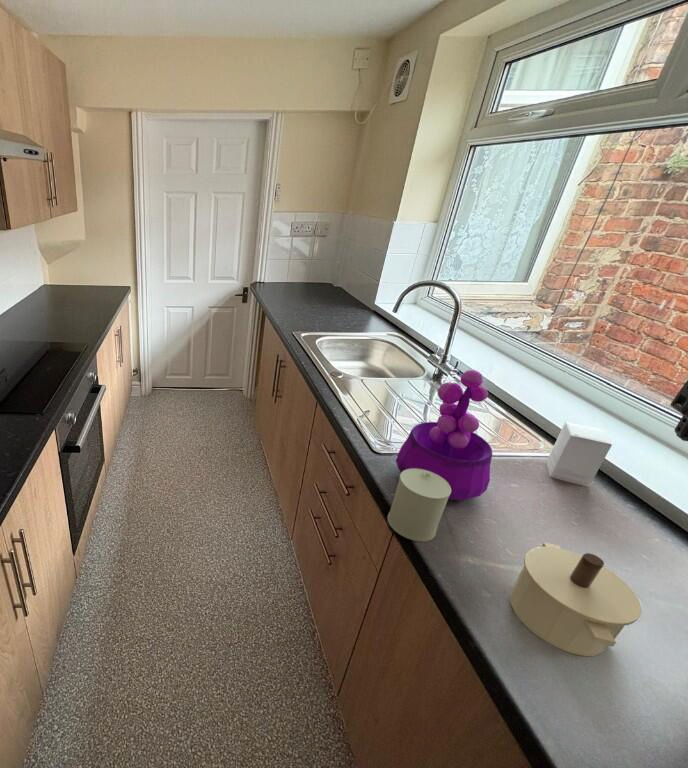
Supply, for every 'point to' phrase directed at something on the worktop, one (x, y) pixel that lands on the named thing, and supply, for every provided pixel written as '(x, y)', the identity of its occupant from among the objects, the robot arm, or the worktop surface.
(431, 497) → the can
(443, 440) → the decorative plant
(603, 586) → the lid
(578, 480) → the white packaging box
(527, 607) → the pot
